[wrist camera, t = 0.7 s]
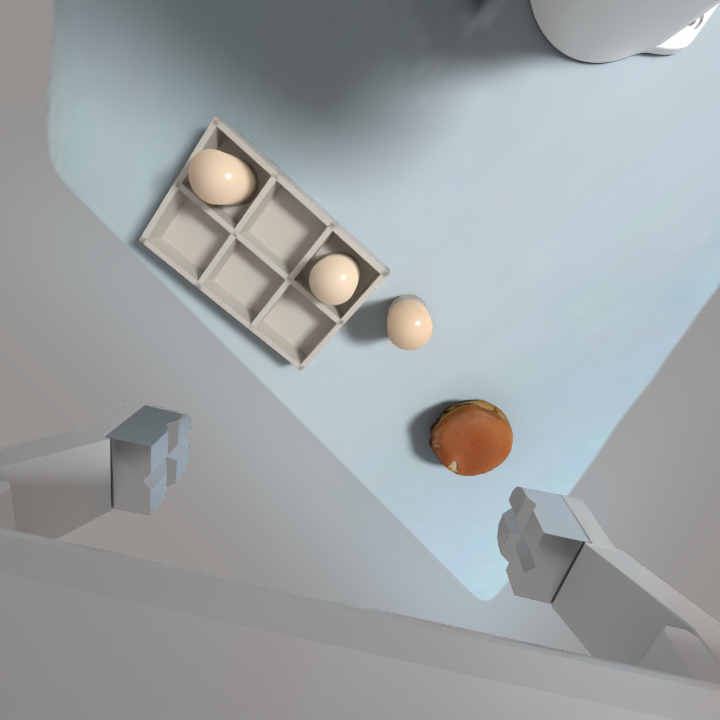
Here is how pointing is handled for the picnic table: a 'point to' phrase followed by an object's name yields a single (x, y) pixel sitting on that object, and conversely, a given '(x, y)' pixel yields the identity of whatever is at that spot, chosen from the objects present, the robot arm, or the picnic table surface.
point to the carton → (260, 252)
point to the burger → (471, 437)
